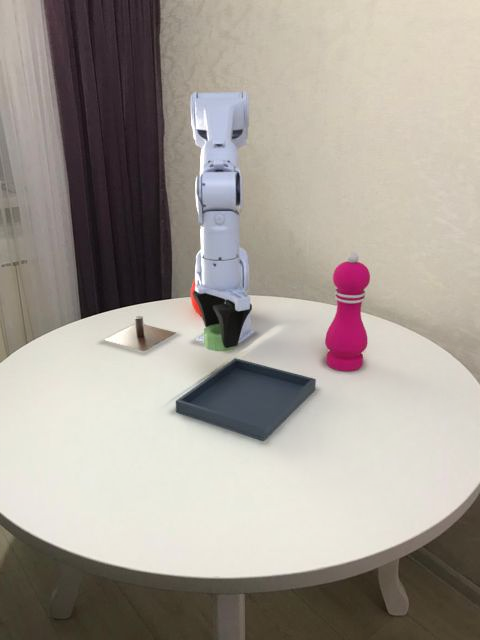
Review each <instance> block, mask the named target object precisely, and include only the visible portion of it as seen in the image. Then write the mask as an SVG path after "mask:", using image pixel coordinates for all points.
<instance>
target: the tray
mask: <svg viewBox="0 0 480 640" xmlns="http://www.w3.org/2000/svg"><path fill="white" fill-rule="evenodd" d="M316 382H317V379H316V378H313V377H310V376H306V375H302V374H297V373H294V372H290V371H286V370H283V369H280V368H279V369H278V368H275V367H271V366H267V365H264V364H259V363H255V362H252V361H247V360H244V359H240V358H237V357H235V358H233V359H232V360H230V361H229V362H228V363H226V364H225V365H224V366H222V367H220V368H219V369H217V370H216V371H215V372H213V373H212V374H211V375H210V376H208V377H207V378H205V379H204V380H203V381H201V382H200V383H198V384H197V385H196V386H194V387H193V388H191V389H190V390H188V391H187V392H186V393H184V394H183V395H182V396H180V397H178V399H176V400H175V412H176V413H177V414H181V415H183V416H187V417H190V418H193V419H196V420H199V421H202V422H205V423H208V424H210V425H214V426H217V427H220V428H223V429H226V430H229V431H232V432H235V433H238V434H241V435H245V436H248V437H251V438H253V439H256V440H259V441H262V442H265V440H266V439H268V437H269V436H271V435H272V434H273V433H274V432H275V430H277V429H278V428H279V427H280V426H281V425H282V423H284V422H285V421H286V420H287V419H288V418H289V417H290V416H291V415H292V414H293V413H294V411H296V410H297V409H298V408H299V407H300V406H301V405H302V404H303V403H304V402H305V401H306V400H307V399H308V397H310V396H311V395H312V394H313V393H314V392H315V391H316Z"/></svg>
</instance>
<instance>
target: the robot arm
mask: <svg viewBox="0 0 480 640" xmlns="http://www.w3.org/2000/svg"><path fill="white" fill-rule="evenodd" d="M190 122H191V128H192V135H193V140H194V141H195V142H194V143H195V146H197V147H199V148H200V149H201V150H200V159H199V160H200V161H199V176H198V175H196V177H195V204H196V211H197V215H198V227H200V228H199V230H200V231H199V232H200V235H199V236H200V250H198V252H197V254H196V255H195V268H194V270H195V272H194V280H195V283H196V286H195V291H193V292H192V294H193V297H194V298H195V300H196V302H197V304H198V306H199V308H200V311H201V313H202V316H201V317H202V321H203V325H204V326H203V327H204V328H206V327H208V326H210V325H214V324H220V328H221V335H222V342H223V345H224V347H225V348H230V347H234V346H237V345H238V346H239V344H240V343H241V342H242V341H244V340H245V339H247V338H248V337H249V336H251V335H253V334H254V333H255V332H256V331H255V330H252V310H253V304H252V303H251V296H249V295H248V293H249V292H250V264H249V255H248V253H247V250H246V249H244V248H242V246H240V245H241V244H240V213H241V212H242V209H243V197H244V195H243V177H242V171H241V168H240V167H239V164H240V163H239V150H238V149H240V148H242V147H244V146H245V145H247V140H248V134H249V133H248V132H249V125H250V97H249V94H248V93H247V91H246V90H245V91H244V90H243V91H241V92H239V91H238V92H237V91H235V92H233V91H232V92H231V91H230V92H225V91H224V92H198V91H193V93H192V94H191V95H190ZM237 207H238V208H239V211H238V210H237ZM204 328H203V329H204ZM195 341H198V342H201V343H204V333H203V334H201V335H200V336H198V337H197V338H195ZM238 346H237V347H238Z"/></svg>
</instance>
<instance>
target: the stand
mask: <svg viewBox="0 0 480 640" xmlns="http://www.w3.org/2000/svg"><path fill="white" fill-rule="evenodd" d="M175 334H177V332H176V331H172V330H168V329H163V328H160V327H155V326H151V325H147V324H144V317H143V316H141V315H138V316H135V317H134V324H132V325H130V326H128V327H126V328H124V329H122V330H121V331H118V332H117V333H114V334H112V335H111V336H109V337H106V338H104V339H103V341H106V342H108V343H112V344H115V345H120V346H123V347H127V348H130V349H134V350H136V351H137V350H138V351H141V352H146V351H147V350H149V349H151V348H153V347H154V346H156V345H158V344H160V343H161V342H164V341H165V340H166V339H168V338H170V337H172V336H174V335H175Z"/></svg>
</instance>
